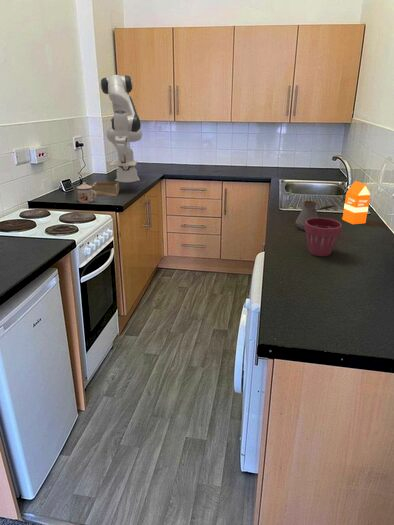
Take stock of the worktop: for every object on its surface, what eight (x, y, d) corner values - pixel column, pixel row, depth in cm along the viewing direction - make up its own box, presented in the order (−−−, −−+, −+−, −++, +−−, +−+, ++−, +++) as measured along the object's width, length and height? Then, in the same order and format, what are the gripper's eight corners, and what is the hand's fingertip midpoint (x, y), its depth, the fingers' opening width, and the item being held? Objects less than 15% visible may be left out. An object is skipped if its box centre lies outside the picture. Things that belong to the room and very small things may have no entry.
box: (96, 192, 258) (95, 182, 256) (119, 192, 259) (118, 181, 257) (92, 197, 247) (91, 186, 244) (116, 196, 247) (115, 185, 245)
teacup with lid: (75, 203, 233) (72, 183, 228) (83, 199, 241) (81, 180, 236) (92, 204, 229) (90, 185, 225) (100, 201, 237) (99, 182, 233)
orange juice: (352, 224, 196) (359, 184, 188) (341, 219, 204) (347, 181, 196) (365, 223, 198) (372, 183, 190) (354, 218, 206) (361, 180, 198)
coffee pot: (290, 226, 192) (293, 196, 186) (308, 223, 197) (311, 194, 191) (320, 239, 175) (325, 207, 169) (339, 236, 179) (344, 204, 174)
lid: (112, 162, 257) (112, 154, 255) (137, 162, 258) (136, 154, 256) (109, 166, 245) (108, 157, 243) (135, 166, 245) (134, 158, 243)
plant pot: (336, 261, 152) (341, 229, 147) (299, 255, 157) (303, 225, 152) (338, 248, 164) (343, 219, 159) (304, 244, 169) (307, 215, 164)
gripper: (119, 136, 254) (120, 158, 260) (114, 140, 236) (116, 163, 241) (128, 136, 255) (130, 158, 260) (125, 140, 236) (126, 163, 241)
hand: (123, 160), depth 251 cm, fingers closed on lid, 3 cm apart
